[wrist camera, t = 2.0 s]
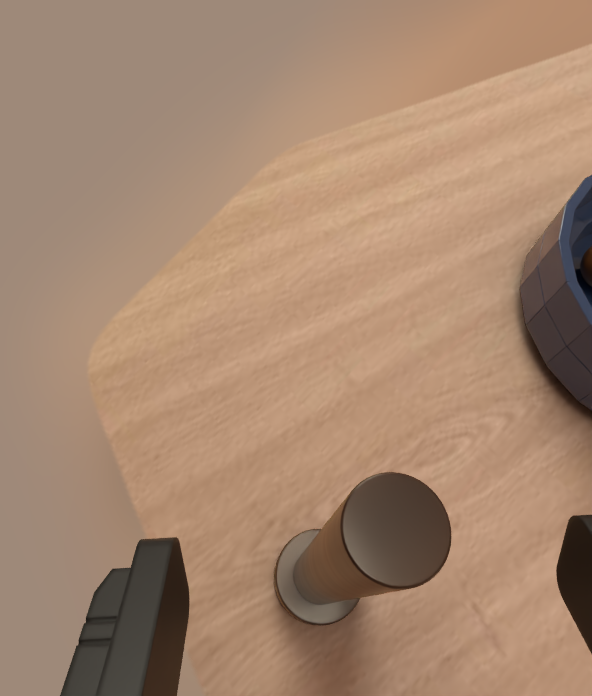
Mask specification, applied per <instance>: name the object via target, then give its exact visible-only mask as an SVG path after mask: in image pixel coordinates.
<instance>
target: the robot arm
mask: <svg viewBox="0 0 592 696" xmlns="http://www.w3.org/2000/svg"><path fill="white" fill-rule="evenodd" d="M556 572H557V582H558V587H559V590H560V593H561V596H562V598H563V600H564V602H565V604H566V606H567V608H568V610H569V612H570V613H571V615H572V617H573V619H574V621H575V623H576V625H577V627H578V629H579V631H580V633H581V634H582V636H583V638H584V640H585V642H586V644H587V646H588V648H589V650H590V652H591V653H592V515H579V516H572V517H571V518H570V519H569V522H568V525H567V529H566V533H565V536H564V540H563V544H562V548H561V552H560V556H559V560H558V564H557V571H556ZM188 617H189V588H188V582H187V577H186V572H185V567H184V563H183V558H182V553H181V548H180V543H179V540H178V538H177V537H175V538H158V539H141V540H140V541H139V542H138V544H137V547H136V551H135V554H134V558H133V561H132V565H131V568H120V569H112V570H111V571H110V573H109V574H108V575H107V577H106V578H105V579H104V581H103V582H102V583H101V584H100V586H99V587H98V588H97V590H96V591H95V592H94V595H93V598H92V601H91V604H90V608H89V610H88V614H87V616H86V623H85V624H84V626H83V628H82V631H81V635H80V638H79V644H78V646H76V649H75V653H74V656H73V659H72V662H71V665H70V668H69V671H68V674H67V677H66V680H65V683H64V686H63V689H62V692H61V695H60V696H177V690H178V684H179V677H180V669H181V663H182V657H183V651H184V644H185V637H186V631H187V624H188Z"/></svg>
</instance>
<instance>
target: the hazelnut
mask: <svg viewBox="0 0 592 696" xmlns="http://www.w3.org/2000/svg"><path fill="white" fill-rule="evenodd" d="M580 270H581V275H582V277H583V279H584V280H585V282H586V283H587V284H588V285H590V286H591V287H592V246H591V247H590V248H589V249H588V250H587V251H586V252H585V253H584V255H583V257H582V260H581V264H580Z"/></svg>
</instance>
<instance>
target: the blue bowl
mask: <svg viewBox="0 0 592 696" xmlns="http://www.w3.org/2000/svg"><path fill="white" fill-rule="evenodd" d="M591 246H592V175H591V176H589V177H587V178H585V179H584V180H583V182H582V183H581V184H580V185H579V187H578V188H577V189H576V191H575V192H574V193H573V195H572V196H571V197H570V199H569V200H568V201H567V203H566V204H565V205H564V207H563V208H562V209H561V210H560V212H559V213H558V214H557V216H556V217H555V218H554V220H553V221H552V222H551V224H550V225H549V226H548V228H547V229H546V230H545V232H544V233H543V234H542V236H541V237H540V238H539V240H538V241H537V242H536V244H535V245H534V246H533V248H532V249H531V250H530V252H529V253H528V255H527V257H526V262H525V266H524V271H523V275H522V280H521V284H520V293H521V299H522V306H523V312H524V318H525V325H527V329H528V331H529V333H530V335H531V337H532V339H533V341H534V343H535V345H536V347H537V349H538V351H539V352H540V354H541V356H542V358H543V360H544V362H545V364H546V366H547V367H548V368H549V369H550V371H551V372H552V373H553V374H554V375H555V376H556V377H557V378H558V379H559V381H560V382H561V383H562V384H563V385H564V386H565V387H566V388H567V390H568V391H569V392H570V393H571V394H572V395H573V396H574V397H575V398H576V400H577V401H579V402H580V403H581V404H583V405H584V406H586V407H587V408H589V409H590V410H592V287H591V286H590V285H588V284H587V283H586V282H585V280H584V279H583V277H582V275H581V270H580V264H581V260H582V257H583V255H584V253H585V252H586V251H587V250H588V249H589V248H590V247H591Z"/></svg>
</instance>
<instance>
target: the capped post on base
mask: <svg viewBox="0 0 592 696" xmlns="http://www.w3.org/2000/svg"><path fill="white" fill-rule="evenodd" d="M450 546H451V527H450V521H449V518H448V515H447V512H446V510H445V508H444V506H443V504H442V502H441V501H440V499H439V498H438V496H437V495H436V494H435V493H434V492H433V491H432V490H431V489H430V488H429V487H428V486H427V485H426V484H424V483H423V482H421V481H420V480H418V479H416V478H414V477H412V476H409V475H406V474H402V473H395V472H386V473H380V474H376V475H373V476H371V477H369V478H366V479H365V480H363V481H362V482H360V483H359V484H358V485H357V486H356V487H355V488H354V489H353V490H352V491H351V493H350V494H349V495H348V496H347V498H346V499H345V500H344V501H343V503H342V504H341V505H340V506H339V508H338V509H337V510H336V511H335V513H334V514H333V515H332V517H331V518H330V519H329V520H328V522H327V523H326V524H325V525H324V527H323V528H322V529H312V530H308V531H304V532H302V533H300V534H298V535H297V536H295V537H293V538H292V539H291V540H290V541H289V542H288V543H287V544H286V545H285V547H284V548H283V550H282V552H281V554H280V556H279V558H278V560H277V563H276V567H275V573H274V583H275V589H276V593H277V596H278V598H279V600H280V602H281V604H282V606H283V607H284V608H285V610H286V611H287V612H288V613H289V614H290V615H292V616H293V617H294V618H296V619H298V620H299V621H301V622H304V623H307V624H312V625H328V624H333V623H335V622H338V621H340V620H342V619H343V618H345V617H346V616H347V615H348V614H349V613H350V612H352V610H353V609H354V608H355V607H356V605H357V603H358V601H359V599H360V598H362V597H368V596H373V595H379V594H384V593H389V592H395V591H400V590H405V589H411V588H415V587H418V586H421V585H423V584H424V583H426V582H428V581H429V580H431V579H432V578H433V577H434V576H435V575H436V574H437V573H438V572H439V571H440V570H441V568H442V567H443V565H444V563H445V561H446V560H447V557H448V554H449V551H450Z"/></svg>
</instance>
